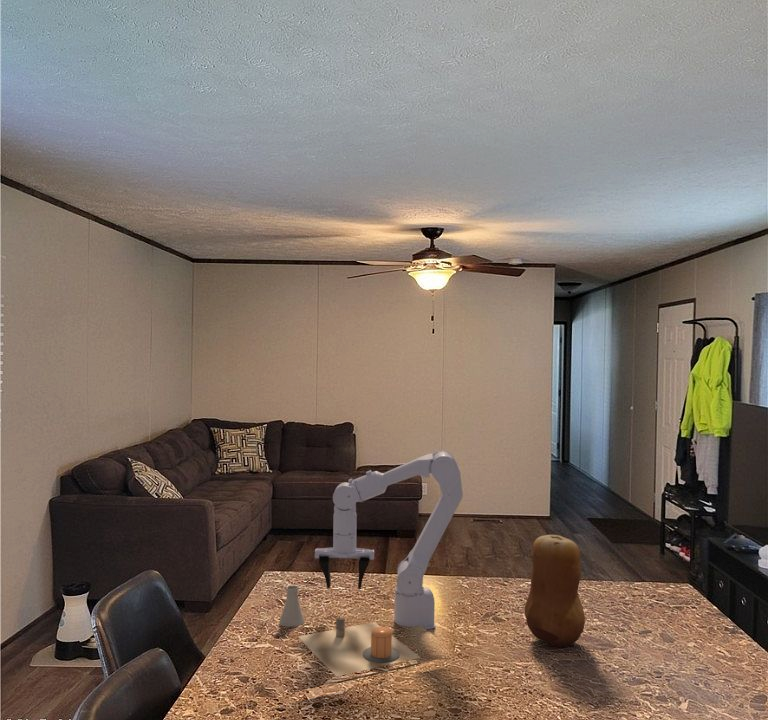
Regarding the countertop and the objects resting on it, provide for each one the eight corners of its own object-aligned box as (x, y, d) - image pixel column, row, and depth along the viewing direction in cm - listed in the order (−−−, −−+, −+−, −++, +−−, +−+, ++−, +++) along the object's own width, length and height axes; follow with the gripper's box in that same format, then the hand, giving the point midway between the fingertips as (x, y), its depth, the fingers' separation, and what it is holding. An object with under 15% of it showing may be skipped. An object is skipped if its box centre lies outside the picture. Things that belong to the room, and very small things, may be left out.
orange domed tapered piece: (391, 649, 158) (392, 627, 158) (390, 658, 154) (391, 635, 154) (371, 648, 159) (372, 626, 158) (370, 657, 154) (370, 634, 154)
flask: (301, 635, 170) (302, 593, 170) (272, 632, 171) (273, 591, 171) (310, 623, 177) (311, 583, 177) (282, 620, 178) (283, 581, 178)
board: (374, 627, 175) (374, 605, 175) (420, 664, 155) (420, 639, 155) (297, 642, 165) (297, 619, 165) (336, 683, 146) (336, 657, 146)
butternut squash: (588, 637, 171) (590, 533, 170) (579, 660, 158) (581, 548, 158) (531, 627, 176) (533, 526, 176) (517, 648, 164) (519, 540, 164)
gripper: (313, 536, 172) (312, 591, 172) (373, 537, 171) (372, 593, 172) (317, 528, 179) (316, 582, 179) (374, 529, 178) (374, 583, 179)
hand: (344, 587), depth 176 cm, fingers open, 7 cm apart
